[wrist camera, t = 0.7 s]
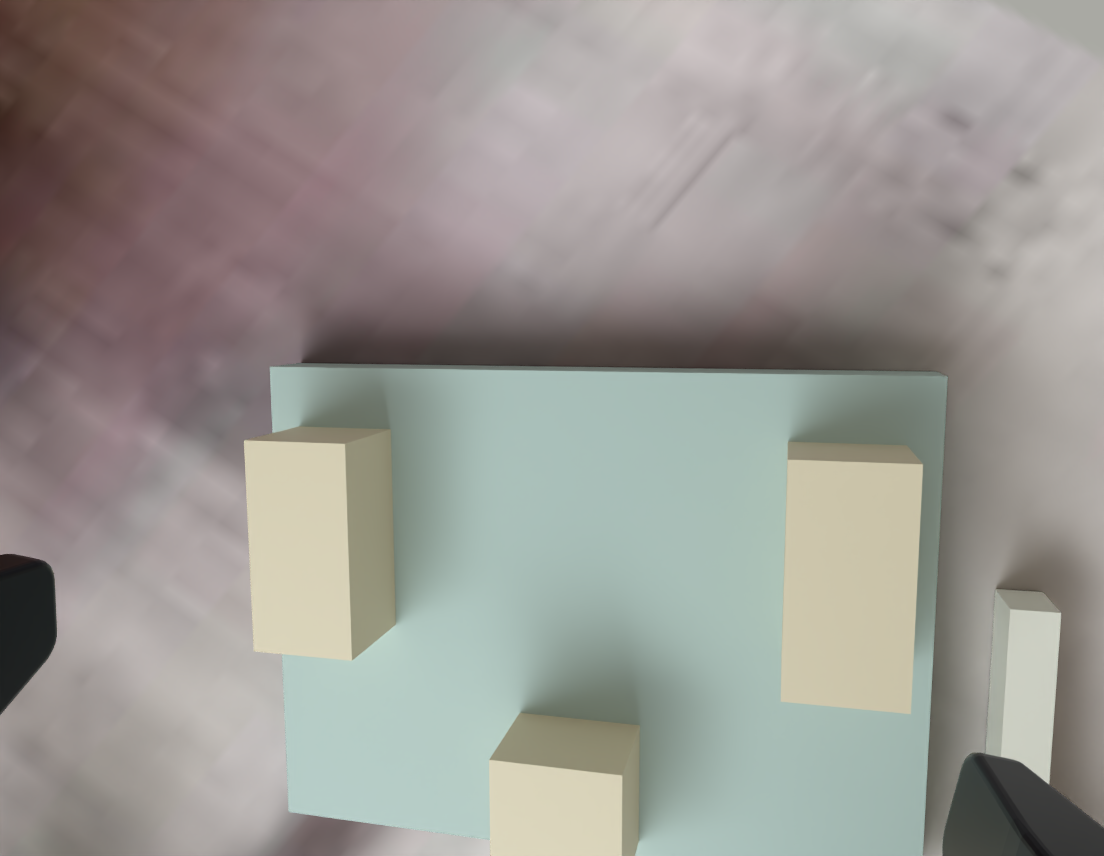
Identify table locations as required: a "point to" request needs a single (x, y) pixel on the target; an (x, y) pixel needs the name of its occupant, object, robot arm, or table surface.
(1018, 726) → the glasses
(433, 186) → the table surface
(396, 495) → the display stand
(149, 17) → the table surface
